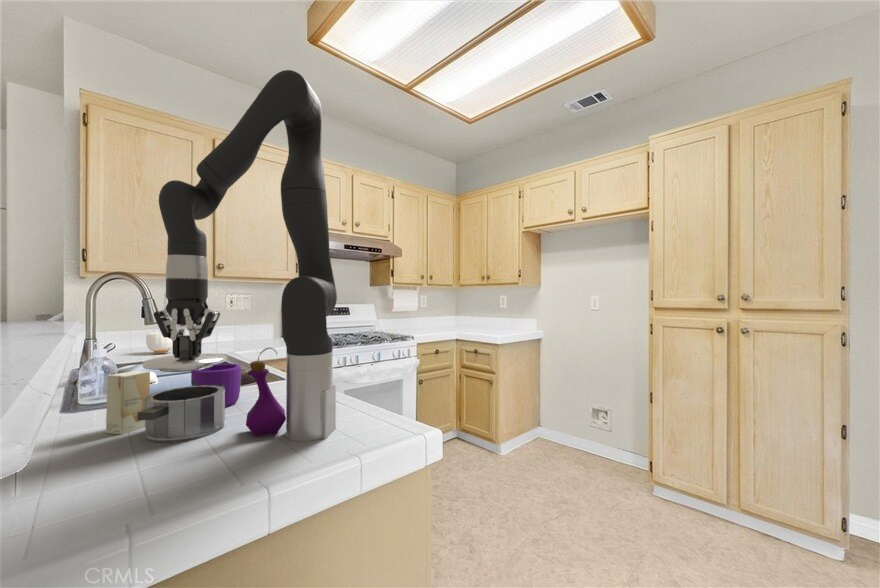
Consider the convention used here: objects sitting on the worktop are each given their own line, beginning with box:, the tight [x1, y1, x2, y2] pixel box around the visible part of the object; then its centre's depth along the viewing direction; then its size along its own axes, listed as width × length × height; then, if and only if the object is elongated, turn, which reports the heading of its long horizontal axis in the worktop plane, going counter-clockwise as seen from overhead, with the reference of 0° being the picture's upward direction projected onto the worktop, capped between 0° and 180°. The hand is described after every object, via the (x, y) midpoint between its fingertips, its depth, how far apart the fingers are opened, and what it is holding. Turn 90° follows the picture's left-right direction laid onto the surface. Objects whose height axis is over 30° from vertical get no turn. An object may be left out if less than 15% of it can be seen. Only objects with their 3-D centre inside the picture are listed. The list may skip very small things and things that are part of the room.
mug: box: [190, 363, 242, 408], centre depth 103 cm, size 17×11×10 cm, turn 44°
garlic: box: [149, 371, 159, 385], centre depth 125 cm, size 8×7×4 cm
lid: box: [142, 334, 228, 373], centre depth 81 cm, size 15×15×7 cm
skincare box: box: [105, 370, 151, 435], centre depth 82 cm, size 6×4×12 cm
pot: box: [137, 385, 226, 444], centre depth 81 cm, size 14×22×8 cm, turn 177°
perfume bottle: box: [245, 346, 286, 437], centre depth 81 cm, size 8×8×18 cm
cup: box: [145, 331, 173, 354], centre depth 192 cm, size 12×12×10 cm
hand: (186, 357), depth 81 cm, fingers closed on lid, 2 cm apart
